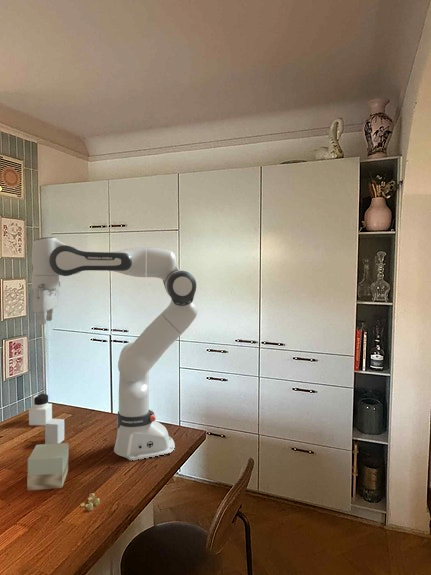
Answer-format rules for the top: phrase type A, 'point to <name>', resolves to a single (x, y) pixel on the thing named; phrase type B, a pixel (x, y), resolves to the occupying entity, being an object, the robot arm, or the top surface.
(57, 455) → the sage block
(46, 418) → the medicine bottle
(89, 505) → the beige lumpy cluster
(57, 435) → the grey block
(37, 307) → the robot arm
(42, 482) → the birch block
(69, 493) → the top surface
